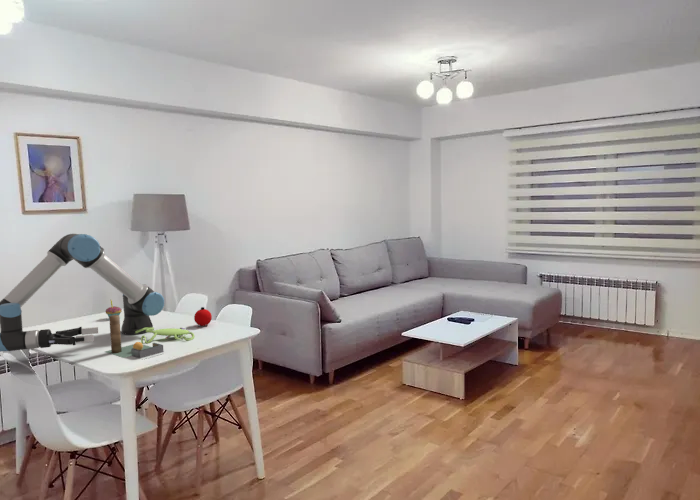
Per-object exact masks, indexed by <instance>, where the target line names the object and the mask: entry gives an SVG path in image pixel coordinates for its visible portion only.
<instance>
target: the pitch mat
mask: <svg viewBox="0 0 700 500" xmlns="http://www.w3.org/2000/svg"><path fill="white" fill-rule="evenodd" d="M134 344H135V343H134ZM134 344H130V345H126V346H121V349H122V352H120V353H112V351H111V349H109V350H106V351H104V353H107V354H110V355H112V356H116V357H120V358H122V359H125V358H128V357H133V356H132V353H131V349H132V348H133V345H134ZM151 347H152V346H150V345H146V344H143V348H142V350H144V349H147V348H151Z"/></svg>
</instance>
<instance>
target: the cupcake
mask: <svg viewBox="0 0 700 500" xmlns="http://www.w3.org/2000/svg"><path fill="white" fill-rule="evenodd" d="M122 312H123V311H122V308H121V307H119V306H117V305H116V306H113V300H112V299H110V307H107V308H106V309H105V314H106V315H107V316H108V318H109V316H112V315H119V316H120V314H121V313H122Z"/></svg>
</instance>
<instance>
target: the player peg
mask: <svg viewBox="0 0 700 500" xmlns="http://www.w3.org/2000/svg"><path fill="white" fill-rule="evenodd" d="M108 319H109V331H110V345H111V346H110V347H111V348H110V350H111V351H112V353H120V352H122V349H121V347H122V336H121V334H122V333H121V320H120V319H121V317H120V315H112V316H109V317H108Z"/></svg>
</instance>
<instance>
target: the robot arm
mask: <svg viewBox="0 0 700 500" xmlns="http://www.w3.org/2000/svg"><path fill="white" fill-rule="evenodd" d="M46 254H47V255H46V256H45V257H44V258H43V259H42V260H41V261H40V262H39V263H37V265H36V266H35V267H34V268H33V269H32V270H30V272H29V273H27V275H26V276H25V277H24V278H23V279H22V280H21V281H20V282H19V283H18V284H16V285H15V287H14V288H13V289H12V290H11V291H10V292H9V293H8V294H7V295H6V296H4V297H3V298H2V299H1V300H0V352H14V351H22V350H31V351H34V349H39V348H41V349H44V348H45V349H47V348H51V346H52V345H69V346H70V345H71V346H76V345H77V344H78V343H88V342H94V334H95V335H96V334H99V327H98V326H96V327H95V326H94V327H84V328H83V327H82V326H78V327H77V328H71V329H70V328H69V329H64V330H56V331H55V333H52V331H51V329H49V328H48V329H45V328H44V329H40V330H38V329H34V330H25V331H24V330H23V319H22V318H23V317H22V312H23V311H22V307H23V306H24V305H25V304H26V303H27V302H28V301H29V299H31V298H32V297H33V296H34V295H35V294H36V293H37V292H38V291H39V290H40V289H41V288H42V287H43V286H44V284H45V283H47V282H48V281H49V280H50V279H51V278H52V277H53V275H54V274H56V272H57V271H59V270H60V269H61V268H62V267H65V266H67V265H68V264H69V263H70V262H71V261H73V260H74V261H75V262H76V263H78V264H79V265H81V266H82V267H83V268H84V269H91V270H92V271H94V272H95V273H96V274H97V275H99V277H101V278H102V279H104V280H105V281H106V282H107V283H109V284H110V285H111V286H112V287H114V289H116V290H117V291H118V292H120V293H121V294H122V303H123V305H122V306H123V320H122V325H121V327H120V333H121V334H123V335H131V336H132V335H133V336H134V335H139V334H140V335H142V334H147V333H148V332H146V330H143V331H141V332H138V333H135V331H137V330H140V329H142V328H146V327H153V328H154V325H153V323H152V320H151V317H152V316H153V317H154V316H156V315H158V314H159V313H161V312H162V310H163V309H164V306H165V298H164V296H163V294H162V293H160V292H157V291H154V290H153V289H152V288H151V287H150V286H148V285H147V284H141V283H139V282H138V281H137V280H136V279H135V278H134V277H133V276H131V275H130V274H129V273H128V272H127V271H125V270H124V269H123V268H122V267H121V266H119V265H118V264H117V263H116V262H115V261H114V260H112V259H111V258H110V257H109V256H107V255H106V253H105V249H104V248H103V247H102V246H101V245H100V243H99V240H97V239H96V238H95V237H94V236H92V235H90V234H86V233H84V234H83V233H70V234H66V235H64V236H62V237H61V238H60V239H58V241H57V242H56V243H55V244H53V246H51V248H50V249H49V250H48V251H47V252H46ZM150 316H151V317H150Z"/></svg>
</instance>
